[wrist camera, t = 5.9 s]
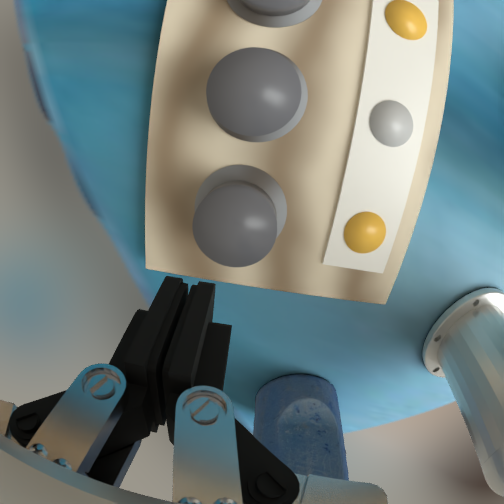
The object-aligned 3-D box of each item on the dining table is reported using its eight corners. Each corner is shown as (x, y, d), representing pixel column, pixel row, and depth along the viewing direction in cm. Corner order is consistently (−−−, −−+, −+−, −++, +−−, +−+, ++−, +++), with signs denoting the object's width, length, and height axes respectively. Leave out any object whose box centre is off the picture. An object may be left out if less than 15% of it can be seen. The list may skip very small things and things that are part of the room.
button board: (441, -13, 13) (454, -20, 11) (379, 291, 26) (385, 305, 24) (193, -63, 13) (186, -75, 11) (154, 257, 26) (144, 269, 24)
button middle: (304, 60, 15) (307, 55, 13) (291, 139, 17) (293, 143, 16) (219, 49, 15) (212, 43, 13) (208, 128, 17) (200, 130, 16)
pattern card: (436, 1, 13) (439, 0, 12) (381, 271, 23) (383, 274, 22) (374, -24, 13) (375, -26, 12) (322, 262, 23) (322, 264, 22)
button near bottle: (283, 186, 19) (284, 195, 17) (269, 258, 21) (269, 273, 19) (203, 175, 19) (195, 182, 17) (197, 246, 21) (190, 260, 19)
